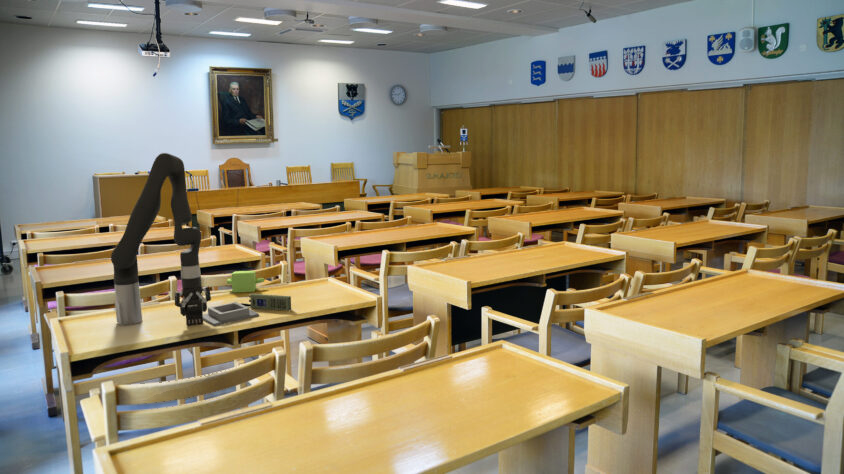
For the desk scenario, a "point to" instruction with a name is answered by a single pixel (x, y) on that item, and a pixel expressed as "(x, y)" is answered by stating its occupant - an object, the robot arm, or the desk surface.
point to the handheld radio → (269, 302)
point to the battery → (194, 312)
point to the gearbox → (244, 281)
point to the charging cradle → (228, 313)
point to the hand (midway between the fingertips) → (194, 313)
